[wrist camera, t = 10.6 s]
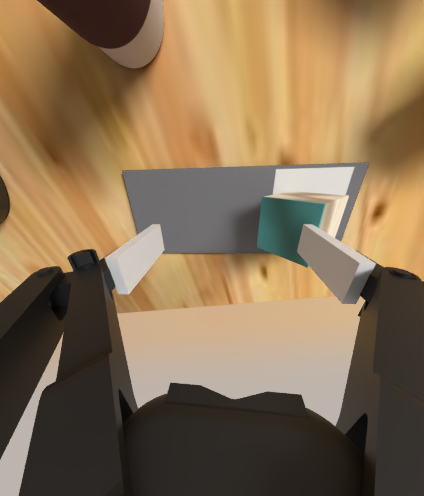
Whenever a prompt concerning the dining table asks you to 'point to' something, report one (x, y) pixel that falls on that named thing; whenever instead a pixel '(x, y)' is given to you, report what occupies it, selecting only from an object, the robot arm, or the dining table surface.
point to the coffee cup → (115, 26)
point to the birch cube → (296, 220)
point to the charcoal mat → (228, 201)
